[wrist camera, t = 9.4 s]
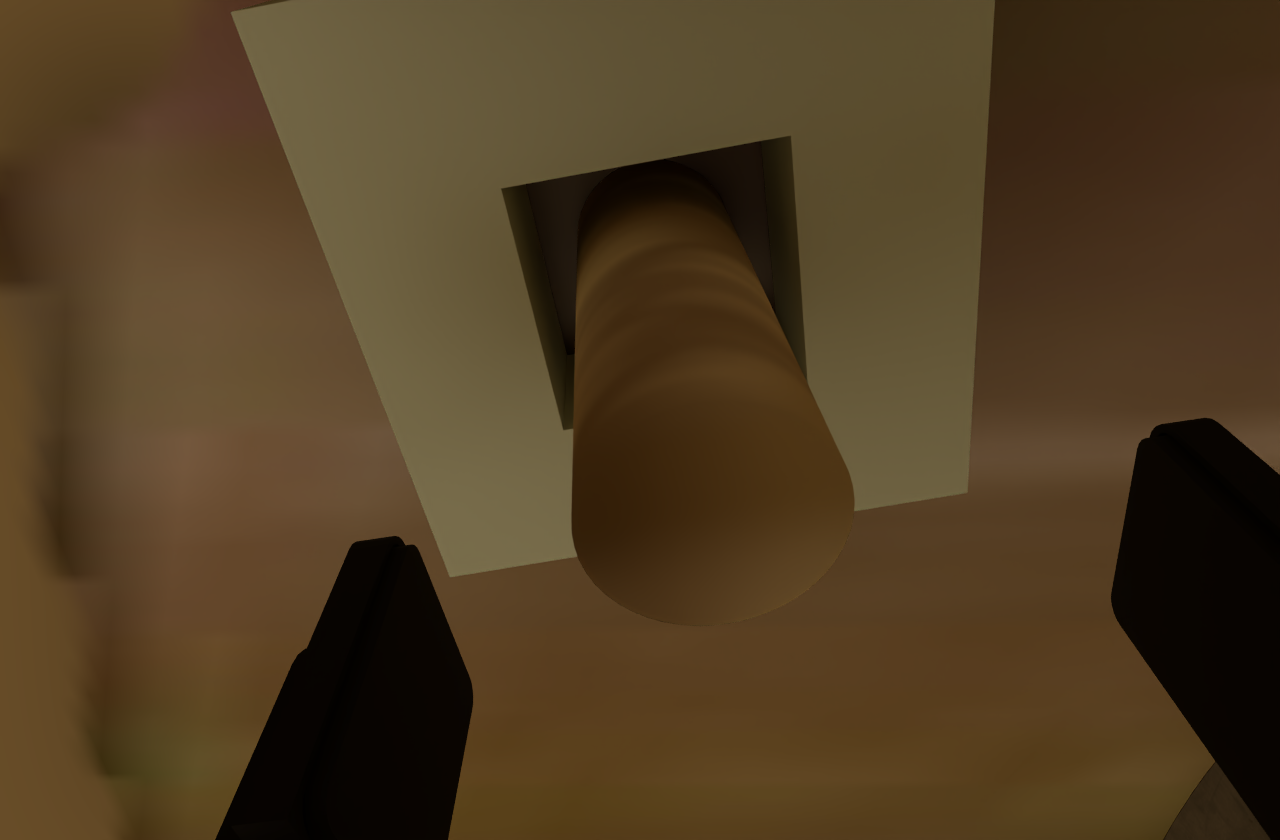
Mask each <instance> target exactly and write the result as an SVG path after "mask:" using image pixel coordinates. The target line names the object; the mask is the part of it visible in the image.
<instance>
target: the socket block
mask: <svg viewBox="0 0 1280 840" xmlns="http://www.w3.org/2000/svg"><path fill="white" fill-rule="evenodd" d="M994 7H995V0H271V1H268V2H264V3H261V4H257V5H254V6H250V7H247V8H243V9H240V10H236V11H233V12H231V15H232V17H233V20H234V22H235V25H236V28H237V30H238V33H239V35H240V38H241V40H242V43H243V46H244V48H245V51H246V53H247V56H248V58H249V61H250V64H251V66H252V69H253V71H254V74H255V76H256V79H257V82H258V84H259V87H260V89H261V92H262V94H263V97H264V100H265V102H266V105H267V107H268V110H269V113H270V115H271V118H272V120H273V123H274V125H275V128H276V131H277V133H278V136H279V138H280V141H281V143H282V146H283V149H284V151H285V154H286V156H287V159H288V161H289V164H290V167H291V169H292V172H293V174H294V177H295V179H296V182H297V185H298V187H299V190H300V192H301V195H302V197H303V200H304V203H305V205H306V208H307V210H308V213H309V215H310V218H311V221H312V223H313V226H314V228H315V231H316V234H317V236H318V239H319V241H320V244H321V246H322V249H323V252H324V254H325V257H326V259H327V262H328V264H329V267H330V270H331V272H332V275H333V277H334V280H335V282H336V285H337V288H338V290H339V293H340V295H341V298H342V300H343V303H344V306H345V308H346V311H347V313H348V316H349V318H350V321H351V324H352V326H353V329H354V331H355V334H356V336H357V339H358V342H359V344H360V347H361V349H362V352H363V354H364V357H365V360H366V362H367V365H368V367H369V370H370V373H371V375H372V378H373V380H374V383H375V385H376V388H377V391H378V393H379V396H380V398H381V401H382V403H383V406H384V409H385V411H386V414H387V416H388V419H389V421H390V424H391V427H392V429H393V432H394V434H395V437H396V439H397V442H398V445H399V447H400V450H401V452H402V455H403V457H404V460H405V463H406V465H407V468H408V470H409V473H410V475H411V478H412V481H413V483H414V486H415V488H416V491H417V494H418V496H419V499H420V501H421V504H422V506H423V509H424V512H425V514H426V517H427V519H428V522H429V524H430V527H431V530H432V532H433V535H434V537H435V540H436V542H437V545H438V548H439V550H440V553H441V555H442V558H443V560H444V563H445V566H446V568H447V571H448V573H449V576H450V577H454V576H461V575H467V574H473V573H479V572H485V571H491V570H497V569H504V568H510V567H516V566H522V565H528V564H534V563H540V562H546V561H553V560H559V559H565V558H571V557H577V553H576V550H575V548H574V543H573V538H572V529H571V509H572V463H573V418H574V373H575V354H571V355H567V353H566V349H565V345H564V341H563V336H562V332H561V328H560V324H559V320H558V316H557V311H556V307H555V303H554V299H553V295H552V291H551V287H550V282H549V278H548V274H547V270H546V266H545V262H544V257H543V253H542V249H541V245H540V241H539V237H538V233H537V228H536V224H535V220H534V216H533V212H532V208H531V203H530V199H529V195H528V191H527V187H526V184H529V183H534V182H539V181H545V180H550V179H556V178H561V177H567V176H572V175H578V174H583V173H589V172H594V171H600V170H605V169H610V168H616V167H621V166H627V165H632V164H638V163H643V162H649V161H654V160H660V159H665V158H670V157H676V156H681V155H687V154H692V153H698V152H703V151H709V150H714V149H720V148H725V147H730V146H736V145H741V144H747V143H752V142H758V141H761V150H762V162H763V173H764V185H765V196H766V208H767V220H768V231H769V243H770V254H771V266H772V277H773V289H774V300H775V312H776V317H777V319H778V322H779V324H780V326H781V328H782V330H783V332H784V334H785V336H786V339H787V341H788V343H789V345H790V347H791V349H792V351H793V354H794V356H795V358H796V360H797V362H798V364H799V366H800V368H801V371H802V373H803V375H804V377H805V379H806V381H807V383H808V385H809V388H810V390H811V392H812V394H813V396H814V398H815V400H816V403H817V405H818V407H819V409H820V411H821V413H822V415H823V417H824V420H825V422H826V424H827V426H828V428H829V430H830V432H831V434H832V437H833V439H834V441H835V443H836V445H837V447H838V449H839V452H840V454H841V456H842V458H843V460H844V462H845V464H846V466H847V469H848V471H849V474H850V477H851V480H852V484H853V490H854V498H855V506H854V511H859V510H865V509H871V508H877V507H883V506H890V505H896V504H902V503H908V502H914V501H920V500H926V499H933V498H939V497H945V496H951V495H957V494H963V493H967V492H968V474H969V456H970V438H971V420H972V402H973V384H974V366H975V348H976V330H977V312H978V294H979V277H980V259H981V241H982V223H983V205H984V187H985V169H986V151H987V133H988V115H989V97H990V79H991V61H992V43H993V25H994Z"/></svg>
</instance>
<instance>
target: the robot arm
mask: <svg viewBox="0 0 1280 840" xmlns="http://www.w3.org/2000/svg"><path fill="white" fill-rule="evenodd" d="M1111 602H1112V607H1113V611H1114V614H1115V616H1116V619H1117V621H1118V622H1119V624H1120V626H1121V627H1122V628H1123V630H1124V631H1125V633H1126V634H1127V636H1128V637H1129V638H1130V640H1131V641H1132V643H1133V644H1134V646H1135V647H1136V648H1137V650H1138V651H1139V653H1140V654H1141V656H1142V657H1143V658H1144V660H1145V661H1146V663H1147V664H1148V666H1149V667H1150V668H1151V670H1152V671H1153V673H1154V674H1155V676H1156V677H1157V678H1158V680H1159V681H1160V683H1161V684H1162V686H1163V687H1164V688H1165V690H1166V691H1167V693H1168V694H1169V696H1170V697H1171V698H1172V700H1173V701H1174V703H1175V704H1176V705H1177V707H1178V708H1179V710H1180V711H1181V713H1182V714H1183V715H1184V717H1185V718H1186V720H1187V721H1188V723H1189V724H1190V725H1191V727H1192V728H1193V730H1194V731H1195V733H1196V734H1197V735H1198V737H1199V738H1200V740H1201V741H1202V743H1203V744H1204V745H1205V747H1206V748H1207V750H1208V751H1209V753H1210V754H1211V755H1212V757H1213V758H1214V760H1215V761H1216V763H1217V764H1218V765H1219V767H1220V768H1221V770H1222V771H1223V773H1224V774H1225V775H1226V777H1227V778H1228V780H1229V781H1230V783H1231V784H1232V785H1233V787H1234V788H1235V790H1236V791H1237V792H1238V794H1239V795H1240V797H1241V798H1242V800H1243V801H1244V802H1245V804H1246V805H1247V807H1248V808H1249V810H1250V811H1251V812H1252V814H1253V815H1254V817H1255V818H1256V820H1257V821H1258V822H1259V824H1260V825H1261V827H1262V828H1263V830H1264V831H1265V832H1266V834H1267V835H1268V837H1269V838H1270V840H1280V475H1279V474H1278V473H1277V472H1276V471H1274V470H1273V469H1272V468H1271V467H1270V466H1269V465H1267V464H1266V463H1265V462H1264V461H1263V460H1262V459H1260V458H1259V457H1258V456H1257V455H1256V454H1255V453H1253V452H1252V451H1251V450H1250V449H1249V448H1248V447H1246V446H1245V445H1244V444H1243V443H1242V442H1240V441H1239V440H1238V439H1237V438H1236V437H1235V436H1233V435H1232V434H1231V433H1230V432H1229V431H1228V430H1226V429H1225V428H1224V427H1223V426H1222V425H1221V424H1219V423H1218V422H1216V421H1215V420H1213V419H1210V418H1201V419H1194V420H1187V421H1180V422H1173V423H1167V424H1161V425H1158V426H1156V427H1155V428H1154V429H1153V431H1152V432H1151V435H1150V438H1145V439H1143V440H1141V442H1140V443H1139V445H1138V448H1137V453H1136V459H1135V464H1134V470H1133V475H1132V481H1131V487H1130V492H1129V498H1128V503H1127V509H1126V514H1125V520H1124V526H1123V531H1122V537H1121V542H1120V548H1119V553H1118V559H1117V565H1116V570H1115V576H1114V581H1113V587H1112V592H1111ZM472 707H473V689H472V683H471V680H470V677H469V674H468V672H467V669H466V667H465V664H464V662H463V659H462V657H461V654H460V652H459V649H458V647H457V644H456V642H455V639H454V637H453V634H452V632H451V629H450V627H449V624H448V622H447V619H446V617H445V614H444V612H443V610H442V607H441V605H440V602H439V600H438V597H437V595H436V592H435V590H434V587H433V585H432V582H431V580H430V577H429V575H428V572H427V570H426V567H425V565H424V562H423V560H422V557H421V555H420V552H419V550H418V548H417V547H416V546H415V545H405V544H404V542H403V540H402V539H401V538H400V537H397V536H392V537H385V538H378V539H371V540H364V541H357V542H355V543H353V544H352V546H351V547H350V549H349V551H348V553H347V556H346V558H345V560H344V563H343V565H342V567H341V570H340V572H339V574H338V577H337V579H336V581H335V584H334V586H333V589H332V591H331V593H330V596H329V598H328V600H327V603H326V605H325V607H324V610H323V612H322V614H321V617H320V619H319V621H318V624H317V626H316V628H315V631H314V633H313V635H312V638H311V640H310V642H309V645H308V647H307V649H304V650H303V651H302V652H301V653H299V654H298V655H297V657H296V659H295V660H294V662H293V664H292V666H291V668H290V670H289V673H288V675H287V677H286V679H285V682H284V684H283V686H282V689H281V691H280V693H279V695H278V698H277V700H276V702H275V705H274V707H273V709H272V711H271V714H270V716H269V718H268V721H267V723H266V725H265V727H264V730H263V732H262V734H261V736H260V739H259V741H258V743H257V746H256V748H255V750H254V752H253V755H252V757H251V759H250V762H249V764H248V766H247V768H246V771H245V773H244V775H243V778H242V780H241V782H240V784H239V787H238V789H237V791H236V794H235V796H234V798H233V800H232V803H231V805H230V807H229V810H228V812H227V814H226V816H225V819H224V821H223V823H222V826H221V828H220V830H219V832H218V835H217V837H216V839H215V840H448V836H449V831H450V825H451V820H452V815H453V809H454V804H455V799H456V793H457V788H458V783H459V777H460V772H461V766H462V761H463V756H464V750H465V745H466V740H467V734H468V729H469V724H470V718H471V713H472Z"/></svg>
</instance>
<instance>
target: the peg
mask: <svg viewBox="0 0 1280 840" xmlns="http://www.w3.org/2000/svg"><path fill="white" fill-rule="evenodd" d="M854 506H855V498H854V490H853V484H852V480H851V477H850V474H849V471H848V469H847V466H846V464H845V462H844V460H843V458H842V456H841V454H840V452H839V449H838V447H837V445H836V443H835V441H834V439H833V437H832V434H831V432H830V430H829V428H828V426H827V424H826V422H825V420H824V417H823V415H822V413H821V411H820V409H819V407H818V405H817V403H816V400H815V398H814V396H813V394H812V392H811V390H810V388H809V385H808V383H807V381H806V379H805V377H804V375H803V373H802V371H801V368H800V366H799V364H798V362H797V360H796V358H795V356H794V354H793V351H792V349H791V347H790V345H789V343H788V341H787V339H786V336H785V334H784V332H783V330H782V328H781V326H780V324H779V322H778V319H777V317H776V315H775V313H774V311H773V309H772V307H771V305H770V302H769V300H768V298H767V296H766V294H765V292H764V290H763V288H762V285H761V283H760V281H759V279H758V277H757V275H756V273H755V270H754V268H753V266H752V264H751V262H750V260H749V258H748V256H747V253H746V251H745V249H744V247H743V245H742V243H741V241H740V239H739V236H738V234H737V232H736V230H735V228H734V226H733V224H732V221H731V219H730V217H729V215H728V213H727V211H726V209H725V207H724V204H723V202H722V200H721V198H720V196H719V195H718V193H717V192H716V190H715V189H714V187H713V186H712V185H711V184H710V183H709V182H708V181H707V180H706V179H705V178H704V177H703V176H701V175H700V174H699V173H697V172H696V171H694V170H692V169H691V168H689V167H686V166H684V165H682V164H679V163H675V162H672V161H665V160H654V161H649V162H643V163H638V164H632V165H627V166H624V167H621V168H619V169H618V170H616V171H614V172H612V173H611V174H610V175H608V176H607V177H606V178H604V179H603V180H602V181H601V182H600V183H599V184H598V185H597V186H596V187H595V189H594V190H593V191H592V192H591V194H590V195H589V197H588V199H587V200H586V202H585V204H584V207H583V209H582V212H581V215H580V219H579V224H578V236H577V282H576V327H575V373H574V418H573V463H572V509H571V529H572V538H573V543H574V548H575V550H576V553H577V556H578V559H579V561H580V563H581V565H582V566H583V568H584V570H585V572H586V573H587V575H588V576H589V577H590V579H591V580H592V581H593V582H594V584H595V585H596V586H597V587H598V588H599V589H600V590H601V591H602V592H604V593H605V594H606V595H607V596H608V597H610V598H611V599H612V600H614V601H615V602H617V603H618V604H620V605H621V606H623V607H625V608H627V609H629V610H630V611H632V612H635V613H637V614H640V615H642V616H645V617H647V618H651V619H654V620H658V621H661V622H667V623H672V624H678V625H690V626H712V625H721V624H729V623H734V622H739V621H744V620H747V619H751V618H754V617H757V616H760V615H763V614H766V613H768V612H770V611H773V610H775V609H777V608H779V607H781V606H783V605H785V604H787V603H789V602H790V601H792V600H794V599H795V598H797V597H798V596H800V595H801V594H803V593H804V592H806V591H807V590H808V589H809V588H810V587H812V586H813V585H814V584H815V583H816V582H817V581H819V580H820V578H821V577H822V576H823V575H824V574H825V573H826V572H827V571H828V570H829V569H830V567H831V566H832V565H833V563H834V562H835V561H836V559H837V558H838V557H839V555H840V553H841V551H842V549H843V547H844V546H845V544H846V541H847V539H848V536H849V533H850V531H851V527H852V522H853V517H854Z"/></svg>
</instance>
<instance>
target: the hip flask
mask: <svg viewBox="0 0 1280 840" xmlns="http://www.w3.org/2000/svg"><path fill="white" fill-rule="evenodd" d="M1164 840H1270V838H1269V837H1268V835H1267V834H1266V832H1265V831H1264V830H1263V828H1262V827H1261V825H1260V824H1259V822H1258V821H1257V820H1256V818H1255V817H1254V815H1253V814H1252V812H1251V811H1250V810H1249V808H1248V807H1247V805H1246V804H1245V802H1244V801H1243V800H1242V798H1241V797H1240V795H1239V794H1238V792H1237V791H1236V790H1235V788H1234V787H1233V785H1232V784H1231V783H1230V781H1229V780H1228V778H1227V777H1226V775H1225V774H1224V773H1223V771H1222V770H1221V768H1220V767H1219V765H1218V764H1217V763H1216V762H1215V763H1214V765H1213V766H1212V767H1211V769H1210V770H1209V771H1208V772H1207V774H1206V775H1205V776H1204V778H1203V779H1202V780H1201V782H1200V783H1199V785H1198V786H1197V787H1196V789H1195V790H1194V792H1193V793H1192V795H1191V796H1190V798H1189V799H1188V801H1187V802H1186V804H1185V805H1184V807H1183V808H1182V810H1181V811H1180V813H1179V815H1178V816H1177V818H1176V820H1175V821H1174V823H1173V824H1172V826H1171V828H1170V830H1169V831H1168V833H1167V835H1166V837H1165V838H1164Z"/></svg>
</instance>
